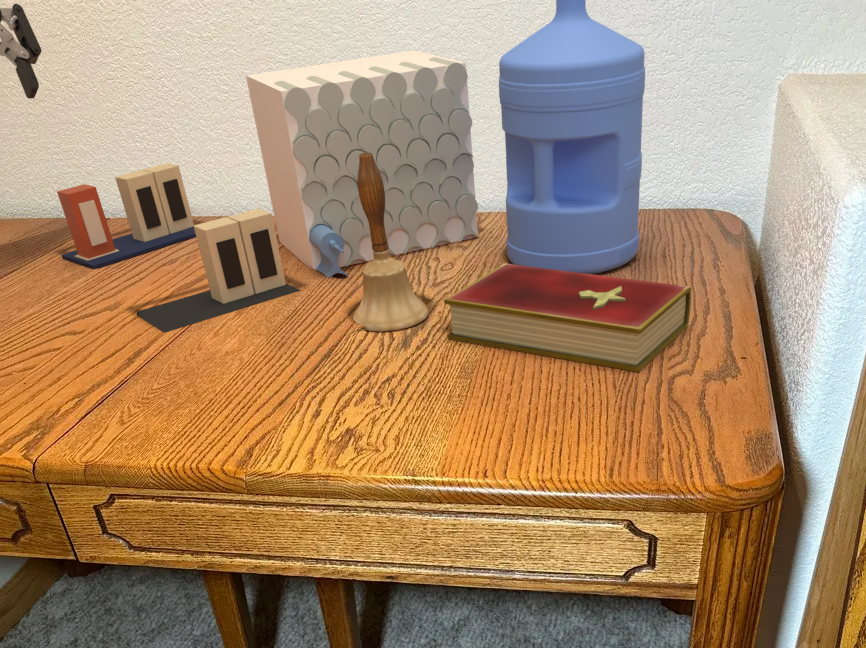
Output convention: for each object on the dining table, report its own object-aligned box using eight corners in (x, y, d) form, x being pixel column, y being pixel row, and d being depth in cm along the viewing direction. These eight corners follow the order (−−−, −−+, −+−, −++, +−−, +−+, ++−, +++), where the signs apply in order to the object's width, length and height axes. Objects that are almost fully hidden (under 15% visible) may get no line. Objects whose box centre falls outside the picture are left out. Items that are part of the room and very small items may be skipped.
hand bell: (372, 338, 94) (346, 168, 83) (340, 316, 99) (312, 154, 89) (442, 318, 96) (426, 152, 86) (407, 297, 102) (388, 139, 92)
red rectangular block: (90, 259, 121) (68, 194, 116) (78, 255, 123) (56, 191, 118) (116, 250, 123) (96, 186, 118) (104, 247, 125) (84, 184, 120)
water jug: (547, 232, 117) (541, -37, 99) (659, 244, 110) (675, -43, 92) (482, 270, 108) (463, -21, 90) (601, 286, 100) (606, -26, 83)
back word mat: (94, 269, 119) (71, 199, 114) (62, 258, 124) (38, 191, 119) (209, 232, 129) (192, 166, 123) (174, 223, 134) (157, 160, 128)
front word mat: (165, 337, 98) (141, 255, 93) (134, 316, 104) (109, 239, 99) (301, 294, 106) (286, 216, 100) (265, 277, 111) (249, 203, 106)
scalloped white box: (336, 291, 106) (303, 99, 93) (279, 241, 123) (245, 73, 110) (506, 252, 112) (497, 68, 100) (430, 210, 129) (414, 48, 117)
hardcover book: (508, 299, 100) (505, 259, 97) (689, 325, 90) (692, 282, 87) (447, 338, 92) (443, 296, 89) (638, 372, 83) (640, 326, 80)
